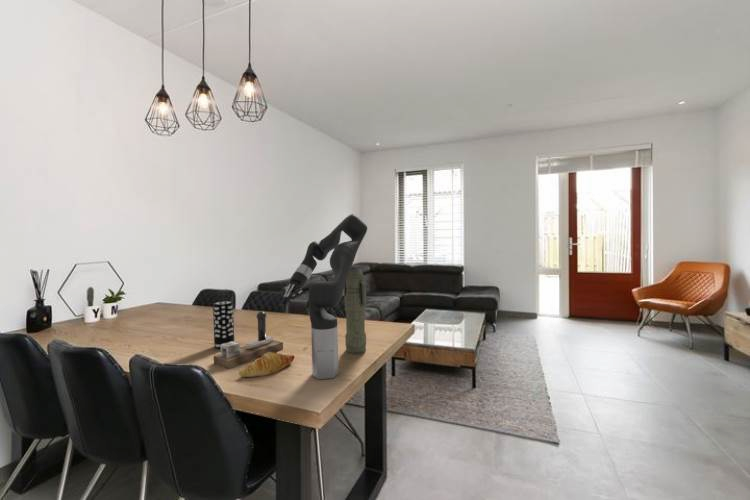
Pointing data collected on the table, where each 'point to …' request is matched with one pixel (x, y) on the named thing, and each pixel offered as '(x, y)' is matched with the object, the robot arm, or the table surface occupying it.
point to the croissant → (266, 365)
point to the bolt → (260, 332)
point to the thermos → (355, 312)
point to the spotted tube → (223, 323)
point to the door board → (243, 353)
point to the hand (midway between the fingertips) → (282, 305)
